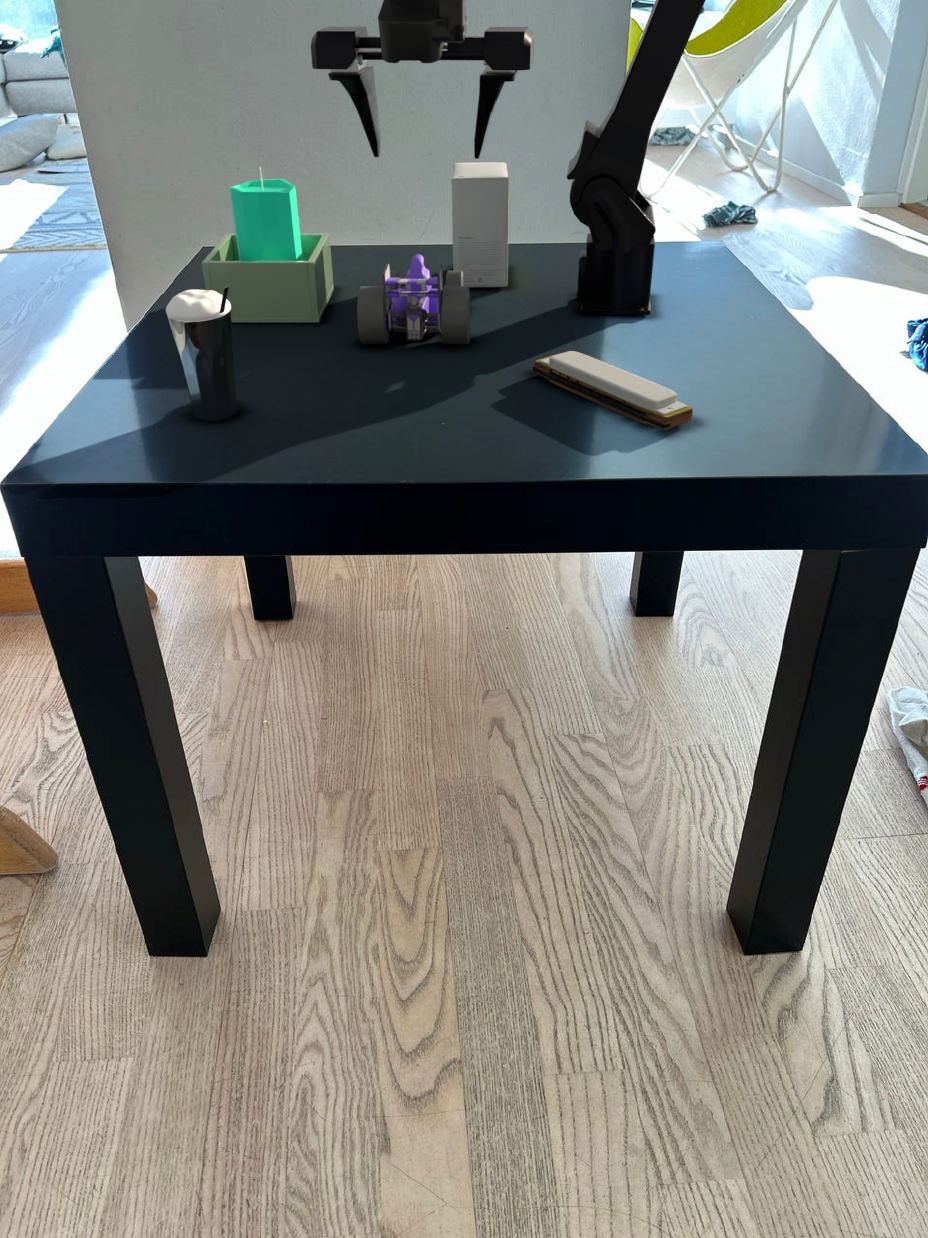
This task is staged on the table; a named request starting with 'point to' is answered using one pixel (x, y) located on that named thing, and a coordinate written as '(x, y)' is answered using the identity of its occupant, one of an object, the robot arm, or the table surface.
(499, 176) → the small box
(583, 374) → the harmonica
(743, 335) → the table surface
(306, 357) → the table surface
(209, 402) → the milkshake
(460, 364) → the table surface
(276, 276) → the open green box
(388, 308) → the toy race car
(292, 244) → the candle
